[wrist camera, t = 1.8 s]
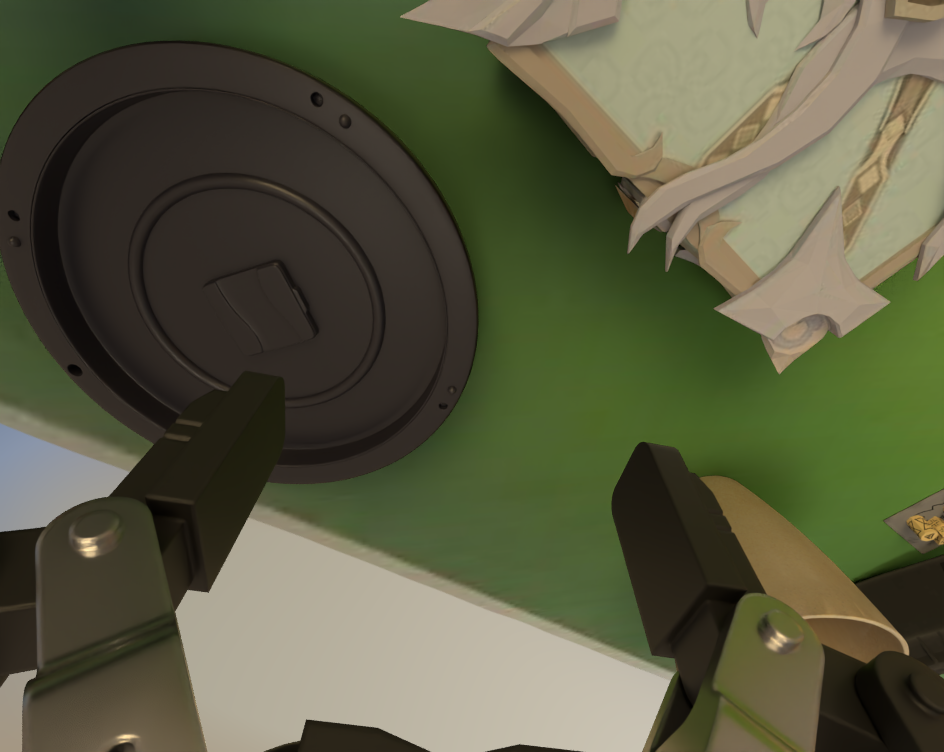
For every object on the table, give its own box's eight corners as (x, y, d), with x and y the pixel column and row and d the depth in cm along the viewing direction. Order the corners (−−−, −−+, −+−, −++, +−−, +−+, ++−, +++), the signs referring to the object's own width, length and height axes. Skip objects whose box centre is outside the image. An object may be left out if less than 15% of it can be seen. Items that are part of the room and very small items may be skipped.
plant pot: (596, 501, 48) (638, 672, 34) (734, 417, 42) (851, 585, 28) (680, 569, 53) (745, 740, 40) (813, 504, 47) (944, 679, 34)
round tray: (375, -49, 26) (-39, 150, 32) (348, -77, 21) (-139, 165, 27) (526, 393, 41) (227, 471, 47) (532, 439, 36) (195, 520, 42)
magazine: (1074, 610, 39) (807, 830, 45) (1091, 624, 40) (827, 838, 46) (879, 491, 55) (701, 666, 61) (894, 504, 56) (718, 674, 62)
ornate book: (1056, 68, 28) (773, -560, 17) (1284, 77, 20) (1020, -1066, 9) (720, 329, 38) (411, 31, 27) (784, 404, 30) (383, 26, 19)
